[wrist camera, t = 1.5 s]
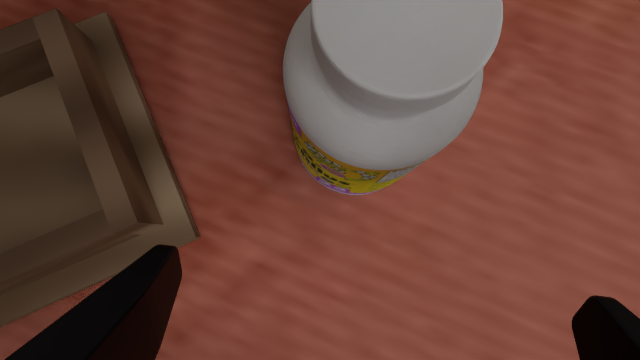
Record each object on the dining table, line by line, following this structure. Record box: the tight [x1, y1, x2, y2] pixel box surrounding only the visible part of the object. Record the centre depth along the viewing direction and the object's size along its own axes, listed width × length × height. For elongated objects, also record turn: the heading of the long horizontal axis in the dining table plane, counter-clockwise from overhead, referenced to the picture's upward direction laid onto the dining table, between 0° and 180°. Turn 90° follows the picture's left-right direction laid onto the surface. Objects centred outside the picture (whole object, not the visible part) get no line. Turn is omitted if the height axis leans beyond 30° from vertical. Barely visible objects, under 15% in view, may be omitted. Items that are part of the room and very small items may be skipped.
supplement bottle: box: [283, 0, 503, 195], centre depth 16 cm, size 7×7×13 cm
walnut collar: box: [0, 9, 200, 327], centre depth 19 cm, size 14×14×4 cm
